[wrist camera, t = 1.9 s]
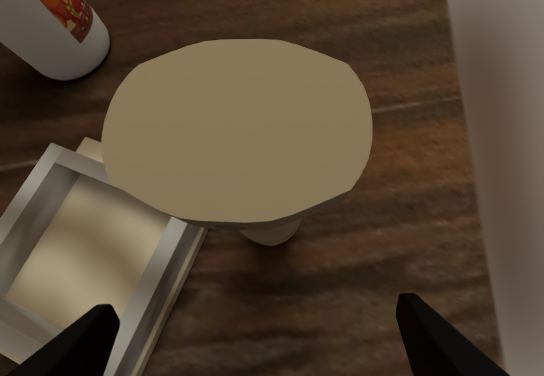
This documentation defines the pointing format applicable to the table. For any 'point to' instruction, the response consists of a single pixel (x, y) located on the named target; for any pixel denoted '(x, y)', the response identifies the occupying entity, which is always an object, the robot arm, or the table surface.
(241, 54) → the handle
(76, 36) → the milk bottle
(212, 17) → the table surface
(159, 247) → the board
